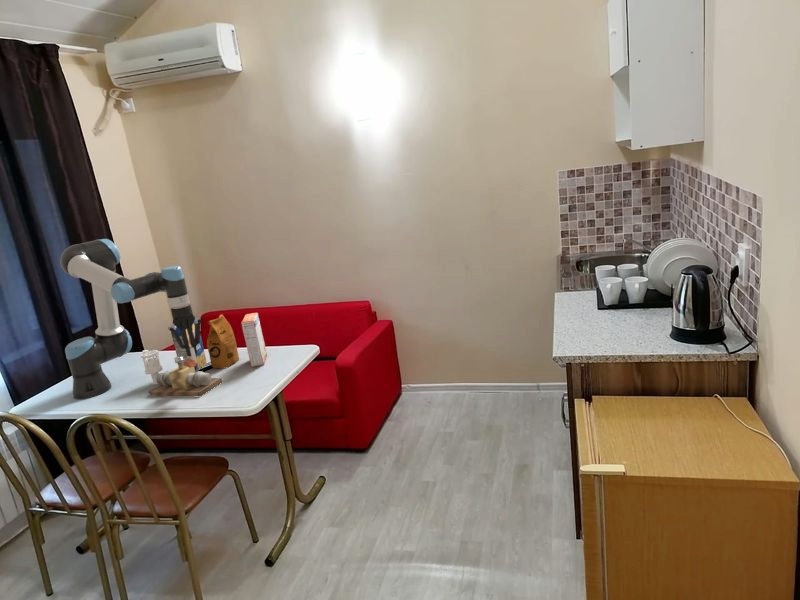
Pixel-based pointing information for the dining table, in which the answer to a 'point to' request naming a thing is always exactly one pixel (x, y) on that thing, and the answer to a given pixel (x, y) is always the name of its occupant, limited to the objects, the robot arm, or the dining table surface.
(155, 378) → the white upright piece
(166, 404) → the dining table surface
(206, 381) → the valve stand
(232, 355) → the coffee package
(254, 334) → the cracker box
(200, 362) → the beverage box
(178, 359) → the valve lever
